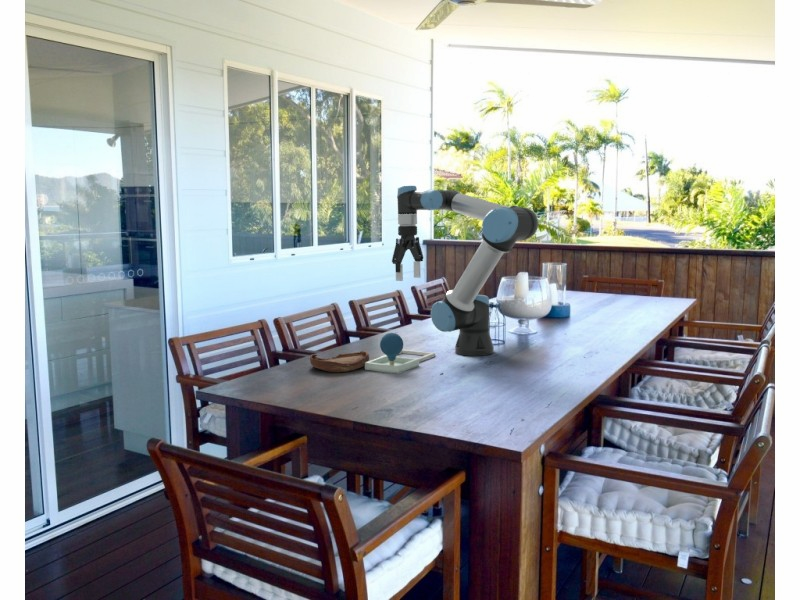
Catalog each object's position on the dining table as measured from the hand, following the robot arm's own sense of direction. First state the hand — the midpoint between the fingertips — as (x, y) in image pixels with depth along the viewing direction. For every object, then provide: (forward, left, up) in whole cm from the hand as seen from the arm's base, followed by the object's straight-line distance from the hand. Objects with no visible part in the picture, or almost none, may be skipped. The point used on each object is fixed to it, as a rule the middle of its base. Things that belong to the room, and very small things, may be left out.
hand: (408, 279), depth 277 cm
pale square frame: (-7, +13, -29) cm, 32 cm away
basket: (+7, +37, -29) cm, 47 cm away
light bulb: (-10, +30, -28) cm, 42 cm away
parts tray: (-10, +30, -29) cm, 42 cm away
